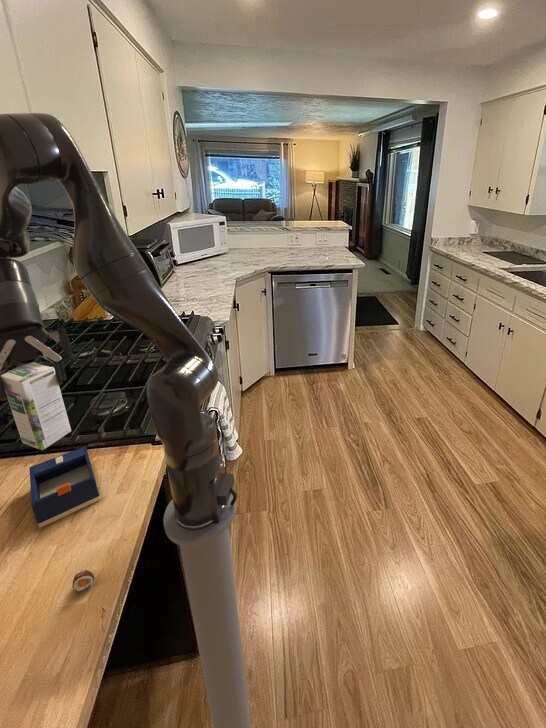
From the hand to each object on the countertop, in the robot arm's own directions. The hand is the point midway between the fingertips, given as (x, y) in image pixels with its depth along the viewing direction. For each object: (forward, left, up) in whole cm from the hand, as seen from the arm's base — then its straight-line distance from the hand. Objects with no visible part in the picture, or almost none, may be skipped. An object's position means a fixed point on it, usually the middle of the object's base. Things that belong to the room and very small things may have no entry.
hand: (33, 390), depth 63 cm
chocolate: (-13, +15, -27) cm, 33 cm away
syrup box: (+1, -1, -11) cm, 11 cm away
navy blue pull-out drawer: (+2, -2, -27) cm, 27 cm away
